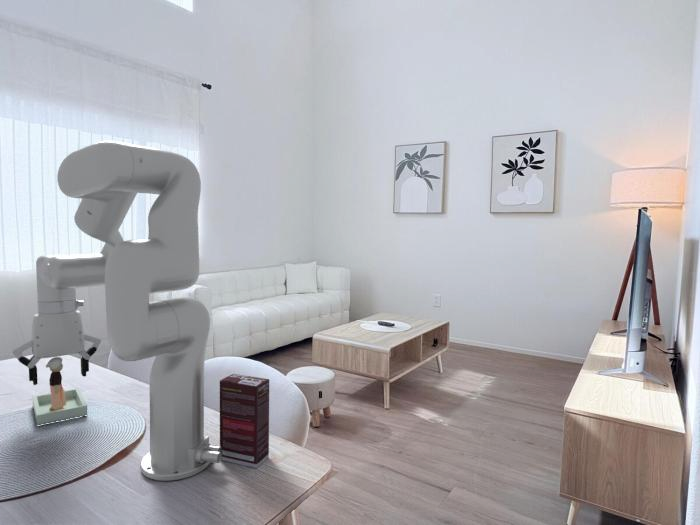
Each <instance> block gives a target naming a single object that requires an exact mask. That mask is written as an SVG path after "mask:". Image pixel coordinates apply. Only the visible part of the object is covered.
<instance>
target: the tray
mask: <svg viewBox="0 0 700 525" xmlns="http://www.w3.org/2000/svg"><path fill="white" fill-rule="evenodd" d="M64 393H65V398H66V405H65V406H63V408H64V409H61V410H56V411H50V410H49V409H50V407H52V406H51V401H52V395H51V392H48V393H43V394H38V395H33V396H32V410H33V409H34V410H33V414H35V415H34V419H35V418H36V420H35V423H37V425H41V424H46V423H51V422H56V421H61V420H66V419H70V418H75V417H80V416H85V415H87V416H88V404H87V402H86V400H85V397H84V396H83V394H82V392H81V390H80V388H79V387H76V388H70V389H65V390H64ZM37 425H36V426H37Z"/></svg>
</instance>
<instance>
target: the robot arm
mask: <svg viewBox="0 0 700 525" xmlns="http://www.w3.org/2000/svg"><path fill="white" fill-rule="evenodd" d="M56 181H57V185H58V188H59V190H60V192H62V194H64V195H65V196H66V197H68V198H71V199H72V198H73V199H81V201H80V202H79V205H78V207H77V209H76V211H75V213H74V216H73V217H74V223H75V225H76V227H77V228H78V229H79V230H80V231H81V232H83V233H84V234H85V235H87V236H89V237H92V238H93V239H96V240H99V241H101V242H103V243H104V245H103V247H102V249H101V251H100V252H99V253H91V254H89V253H88V254H86V253H85V254H69V255H68V254H46V255H41V256H39V257H37V259H36V261H35V269H36V270H35V271H36V274H35V276H36V294H37V295H36V296H37V297H36V298H37V300H36V301H37V313H35V314H34V315H33V318H32V324H31V339H30V340H28V341H27V342H24V343H23V344H21V345H19V346H17V347H15V348H13V349H12V355H14V357H15V359H17V361H18V362H19V363H21V364H22V365H24V366H25V367H27V368H28V379H29V382H32V384H33V386H37V385H38V383H39V382H38V368H37V364H38V363H39V361H40V360H41V359H49V358H55V357H63V356H64V357H65V356H70V355H76V354H78V355H79V356H80V357H81V358H80V374H81V376H82V377H87V372H89V371H90V361H89V360H90V359H91V357H92V356H93V355H94V354H95V353H96V352H97V350H98V348H99V346H100V344H101V342H102V339H101V338H99V337H97V336H93V335H89V334H86V333H85V332H84V326H83V321H82V315H81V311H80V310H78V308H80V307H84V300H78V299H77V290H76V289H79V288H81V289H82V288H90V287H101V286H104V289H105V290H104V291H105V310H106V311H105V312H106V313H105V316H106V329H107V339H108V344H109V347H110V350H111V351H112V352H113V353H112V354H114V355H115V357H116V358H118V359H119V360H121V361H124V362H137V361H141V360H146V359H150V358H154V357H155V358H154V361H153V362H152V366H151V368H150V373H149V452H148V453H147V454H146V455H145V456H144V457H143V458H142V460H141V462H140V470H141V473H142V474H143V475H144V476H145V477H146V478H148V479H151V480H153V481H154V480H155V481H161V482H162V481H163V482H165V481H166V482H170V481H177V480H183V479H187V478H189V477H192V476H194V475H196V474H199V473H201V472H202V471H204V470H205V469H206V468H207V467H208V466H209V465H211V463H213V464H219V463H220V462H221V461H222V460H221V458H222V453H221V450H222V448H221V446H220V445H211V443H210V436H209V435H205V360H206V359H205V358H206V350H207V349H206V348H207V345H208V344H207V343H208V338H209V334H210V329H211V328H210V327H211V317H210V313H209V311H208V309H207V307H206V306H205V304H204V303H202V302H201V301H200V300H198V299H196V298H193V297H172V298H165V299H158V300H154V301H150V296H151V295H155V294H163V293H170V292H178V291H182V290H186V289H189V288H191V287H193V286H194V285H195V284H196V283H197V281H198V279H199V276H200V242H199V237H200V236H199V220H198V219H199V217H198V216H199V205H200V200H201V199H200V198H201V191H202V190H201V189H202V182H201V177H200V172H199V171H198V168H197V167H196V165H195V164H194V163H193V161H192V160H191V159H189V158H188V157H186V156H184V155H182V154H179V153H176V152H172V151H168V150H165V149H159V148H155V147H148V146H142V145H137V144H131V143H127V142H122V141H116V140H115V141H114V140H103V141H98V142H96V143H92V144H89V145H87V146H85V147H81V148H79V149H76V150H74V151H72V152H70V153H69V154H68V155H67V156H66V157H65V158H64V159H63V160H62V162H61V163H60V165H59V168H58V171H57V180H56ZM137 194H152V195H158V196H157V197H156V199H155V200H154V202H153V204H152V205H151V207H150V209H149V211H148V214H147V215H148V216H147V222H148V223H147V224H148V236H147V239H129V240H127V239H126V240H124V238H123V236H122V234H121V232H120V231H119V229H120V228H121V226H122V224H123V222H124V220H125V218H126V216H127V214H128V212H129V210H130V208H131V207H132V205H133V203H134V200H135V199H136V197H137ZM85 341H87V342H91V343H92V345H91V346H90V347H89V348H88V349H87V351H86V350H85V347H86V345H85V344H86V343H85ZM29 349H31V353H32V356H31V357H30V358H27V357H26V356H24V353H23V352H25V351H26V350H29Z"/></svg>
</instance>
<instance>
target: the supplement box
mask: <svg viewBox="0 0 700 525" xmlns="http://www.w3.org/2000/svg"><path fill="white" fill-rule="evenodd" d="M269 442H270V379H268V378H264V377H263V378H262V377H257V376H249V375H243V374H237V373H232V374H230V375H228V376H226V377H224V378H222V379H219V446H221V448H222V450H221V453H222V458H221V461H224V462H228V463H233V464H236V465H242V466H246V467H249V468H255V469H258V468H259V467H260V466H261V465H262V464H263V463H265V462H266V461H267V460H268V458H269V457H270V453H269V452H270V448H269V447H270V443H269Z"/></svg>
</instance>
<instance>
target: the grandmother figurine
mask: <svg viewBox="0 0 700 525" xmlns="http://www.w3.org/2000/svg"><path fill="white" fill-rule="evenodd" d="M62 362H63V358H62V357H61V356H57V357H51V359H50V360H48V361H47V364H46V365H45V367H46V368H49V370H50V372H51V373H50V377H49V387H50V393H51V395H52V401H51V406H52V407H50V409H49V410H50V411H56V410H61V409H64V408H63V406H65V405H66V398H65V393H64V391H65V390H64V387H63V384H62V381H63V376H62V373H61V371H62V370H63V369H64V365H63V363H62Z"/></svg>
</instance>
